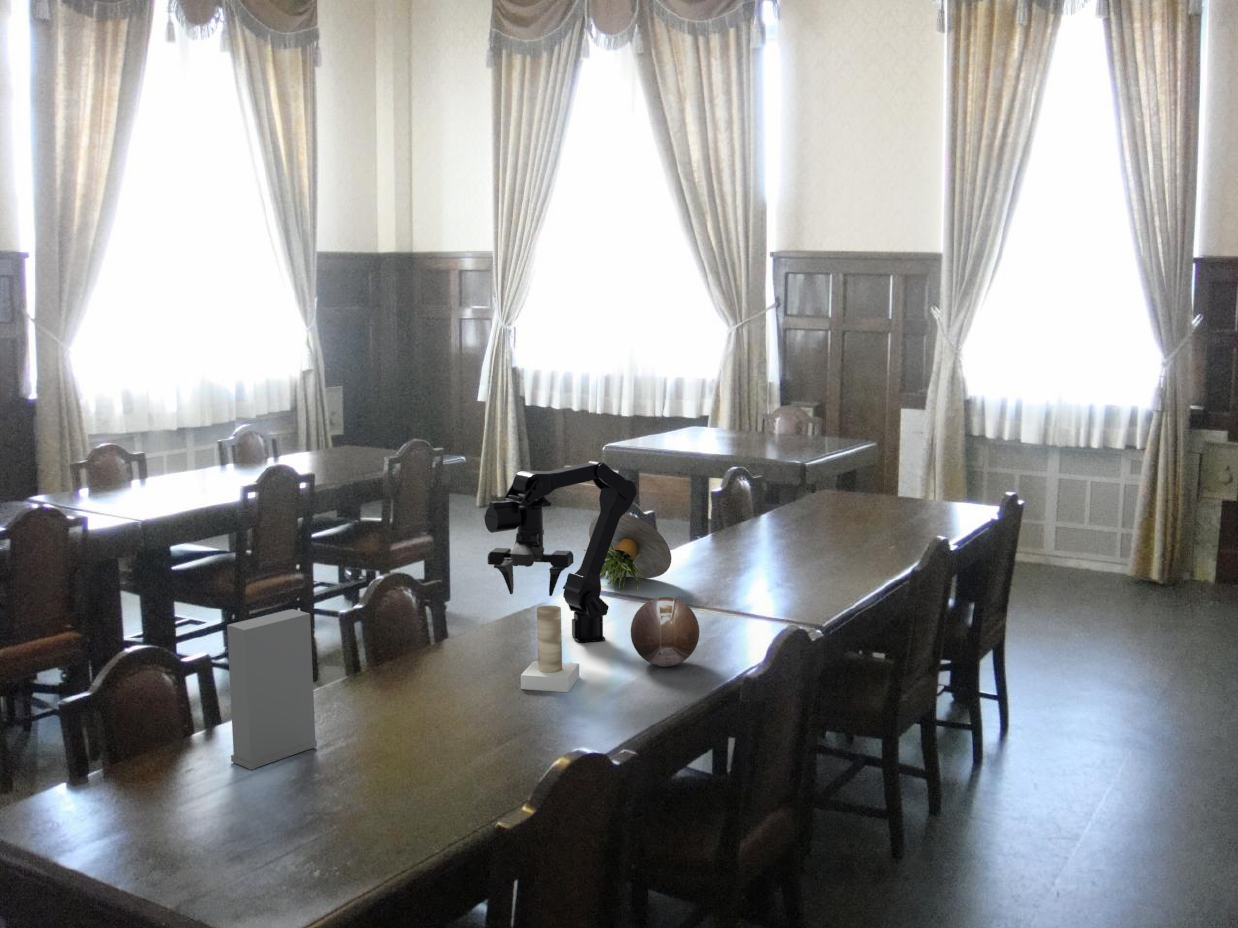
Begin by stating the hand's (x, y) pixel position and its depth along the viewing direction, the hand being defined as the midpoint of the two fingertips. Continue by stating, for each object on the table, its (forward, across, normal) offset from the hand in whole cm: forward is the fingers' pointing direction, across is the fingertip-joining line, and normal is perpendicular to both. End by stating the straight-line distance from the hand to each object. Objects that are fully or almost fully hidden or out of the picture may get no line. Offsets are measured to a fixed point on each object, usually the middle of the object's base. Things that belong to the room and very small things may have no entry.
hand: (531, 594), depth 281 cm
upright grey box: (+13, -28, -70) cm, 77 cm away
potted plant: (+13, +8, +65) cm, 67 cm away
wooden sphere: (+13, +32, -5) cm, 35 cm away
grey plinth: (+13, +10, -22) cm, 27 cm away
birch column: (+10, +10, -22) cm, 26 cm away
